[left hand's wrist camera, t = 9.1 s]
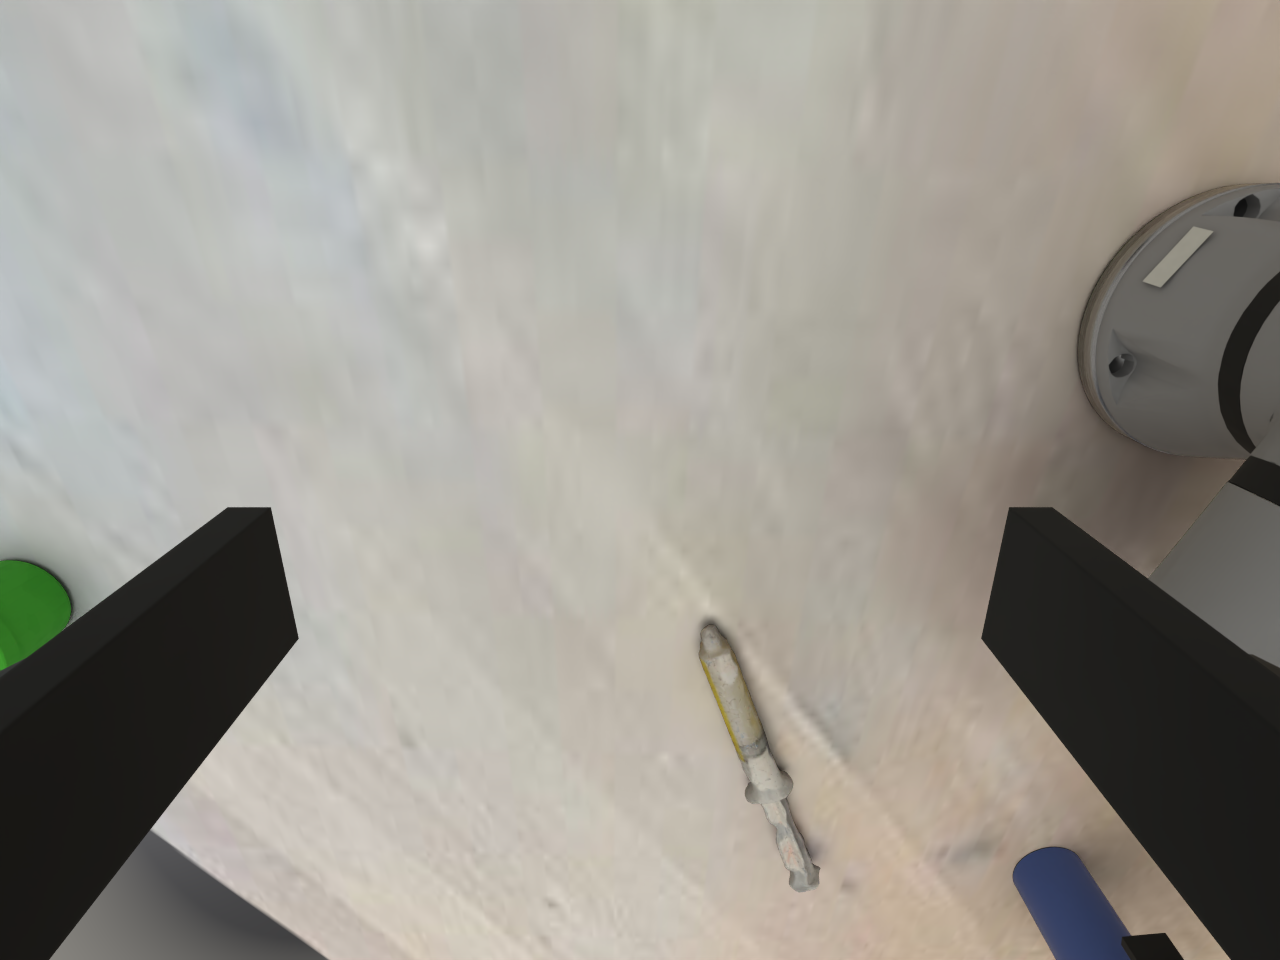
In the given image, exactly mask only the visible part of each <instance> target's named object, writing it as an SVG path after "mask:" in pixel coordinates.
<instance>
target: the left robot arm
mask: <svg viewBox="0 0 1280 960" xmlns="http://www.w3.org/2000/svg"><path fill="white" fill-rule="evenodd" d="M1078 365H1079V373H1080V377H1081V381H1082V385H1083V388H1084V391H1085V393H1086V396H1087V397H1088V399H1089V401H1090V403H1091V405H1092V406H1093V408H1094V409H1095V411H1096V412H1097V414H1098V415H1099V416H1100V417H1101V418H1102V419H1103V420H1104V421H1105V422H1106V423H1107V424H1108V425H1109V426H1110V427H1112V428H1113V429H1114V430H1116V431H1117V432H1119V433H1120V434H1122V435H1124V436H1126V437H1128V438H1130V439H1132V440H1134V441H1136V442H1138V443H1140V444H1142V445H1144V446H1146V447H1149V448H1151V449H1154V450H1157V451H1160V452H1164V453H1168V454H1173V455H1180V456H1188V457H1205V458H1225V459H1246V461H1245V462H1244V464H1243V465H1242V466H1241V467H1240V468H1239V470H1238V471H1237V472H1236V473H1235V475H1234V476H1233V477H1232V478H1231V479H1230V480H1229V481H1228V482H1227V483H1226V484H1225V485H1224V487H1223V488H1222V489H1221V490H1220V491H1219V493H1218V494H1217V495H1216V496H1215V498H1214V499H1213V500H1212V501H1211V503H1210V504H1209V505H1208V506H1207V507H1206V509H1205V510H1204V511H1203V512H1202V514H1201V515H1200V516H1199V517H1198V519H1197V520H1196V521H1195V522H1194V523H1193V525H1192V526H1191V527H1190V528H1189V530H1188V531H1187V532H1186V533H1185V534H1184V536H1183V537H1182V538H1181V539H1180V541H1179V542H1178V543H1177V544H1176V546H1175V547H1174V548H1173V549H1172V550H1171V552H1170V553H1169V554H1168V555H1167V557H1166V558H1165V559H1164V560H1163V561H1162V562H1161V564H1160V565H1159V566H1158V567H1157V568H1156V569H1155V571H1154V572H1153V573H1152V574H1151V575H1150V577H1149V578H1148V579H1147V578H1146V577H1145V576H1143V575H1142V574H1141V573H1139V572H1138V571H1137V570H1135V569H1134V568H1133V567H1131V566H1130V565H1129V564H1127V563H1126V562H1125V561H1123V560H1122V559H1121V558H1119V557H1118V556H1117V555H1115V554H1114V553H1113V552H1111V551H1110V550H1109V549H1107V548H1106V547H1105V546H1103V545H1102V544H1101V543H1099V542H1098V541H1097V540H1095V539H1094V538H1093V537H1091V536H1090V535H1089V534H1087V533H1086V532H1085V531H1083V530H1082V529H1081V528H1079V527H1078V526H1076V525H1075V524H1074V523H1072V522H1071V521H1070V520H1068V519H1067V518H1066V517H1064V516H1063V515H1062V514H1060V513H1059V512H1058V511H1056V510H1055V509H1054V508H1052V507H1009V511H1008V516H1007V520H1006V525H1005V530H1004V534H1003V539H1002V544H1001V548H1000V553H999V558H998V563H997V567H996V572H995V577H994V581H993V586H992V591H991V596H990V600H989V605H988V610H987V614H986V619H985V624H984V628H983V633H982V638H981V639H982V640H983V641H984V643H985V644H986V645H987V646H988V648H989V649H990V650H991V652H992V653H993V654H994V655H995V657H996V658H997V659H998V661H999V662H1000V663H1001V665H1002V666H1003V667H1004V668H1005V670H1006V671H1007V672H1008V674H1009V675H1010V676H1011V677H1012V679H1013V680H1014V681H1015V683H1016V684H1017V685H1018V686H1019V688H1020V689H1021V690H1022V692H1023V693H1024V694H1025V695H1026V697H1027V698H1028V699H1029V701H1030V702H1031V703H1032V704H1033V706H1034V707H1035V708H1036V710H1037V711H1038V712H1039V713H1040V715H1041V716H1042V717H1043V719H1044V720H1045V721H1046V722H1047V724H1048V725H1049V726H1050V728H1051V729H1052V730H1053V731H1054V733H1055V734H1056V735H1057V737H1058V738H1059V739H1060V740H1061V742H1062V743H1063V744H1064V746H1065V747H1066V748H1067V749H1068V751H1069V752H1070V753H1071V755H1072V756H1073V757H1074V758H1075V760H1076V761H1077V762H1078V764H1079V765H1080V766H1081V767H1082V769H1083V770H1084V771H1085V773H1086V774H1087V775H1088V776H1089V778H1090V779H1091V780H1092V782H1093V783H1094V784H1095V785H1096V787H1097V788H1098V789H1099V791H1100V792H1101V793H1102V794H1103V796H1104V797H1105V798H1106V800H1107V801H1108V802H1109V803H1110V805H1111V806H1112V807H1113V809H1114V810H1115V811H1116V812H1117V814H1118V815H1119V816H1120V818H1121V819H1122V820H1123V821H1124V823H1125V824H1126V825H1127V827H1128V828H1129V829H1130V830H1131V832H1132V833H1133V834H1134V836H1135V837H1136V838H1137V839H1138V841H1139V842H1140V843H1141V845H1142V846H1143V847H1144V848H1145V850H1146V851H1147V852H1148V854H1149V855H1150V856H1151V857H1152V859H1153V860H1154V861H1155V863H1156V864H1157V865H1158V866H1159V868H1160V869H1161V870H1162V872H1163V873H1164V874H1165V875H1166V877H1167V878H1168V879H1169V881H1170V882H1171V883H1172V885H1173V886H1174V887H1175V888H1176V890H1177V891H1178V892H1179V894H1180V895H1181V896H1182V897H1183V899H1184V900H1185V901H1186V903H1187V904H1188V905H1189V906H1190V908H1191V909H1192V910H1193V912H1194V913H1195V914H1196V915H1197V917H1198V918H1199V919H1200V921H1201V922H1202V923H1203V924H1204V926H1205V927H1206V928H1207V930H1208V931H1209V932H1210V933H1211V935H1212V936H1213V937H1214V939H1215V940H1216V941H1217V942H1218V944H1219V945H1220V946H1221V948H1222V949H1223V950H1224V951H1225V953H1226V954H1227V955H1228V957H1229V958H1230V959H1231V960H1280V183H1259V184H1239V185H1232V186H1225V187H1221V188H1217V189H1213V190H1210V191H1207V192H1204V193H1201V194H1198V195H1196V196H1194V197H1191V198H1189V199H1187V200H1184V201H1182V202H1181V203H1179V204H1177V205H1175V206H1173V207H1171V208H1170V209H1168V210H1167V211H1165V212H1163V213H1162V214H1160V215H1159V216H1157V217H1156V218H1155V219H1153V220H1152V221H1151V222H1149V223H1148V224H1147V225H1146V226H1144V227H1143V228H1142V229H1141V230H1140V231H1139V232H1138V233H1136V234H1135V235H1134V236H1133V237H1132V238H1131V239H1130V240H1129V241H1128V242H1127V243H1126V244H1125V245H1124V247H1123V248H1122V249H1121V250H1120V251H1119V252H1118V254H1117V255H1116V256H1115V257H1114V258H1113V260H1112V261H1111V263H1110V264H1109V265H1108V267H1107V268H1106V270H1105V271H1104V273H1103V274H1102V276H1101V278H1100V279H1099V281H1098V283H1097V285H1096V287H1095V289H1094V291H1093V293H1092V295H1091V297H1090V299H1089V302H1088V304H1087V307H1086V310H1085V313H1084V316H1083V320H1082V323H1081V329H1080V334H1079V342H1078ZM1242 488H1243V489H1242ZM1244 489H1245V490H1244ZM1246 490H1247V491H1246ZM1248 491H1249V492H1248ZM1250 492H1251V493H1250ZM1252 493H1254V494H1252ZM1255 494H1256V495H1255ZM1257 495H1258V496H1257ZM1259 496H1260V497H1259ZM1261 497H1262V498H1261ZM1263 498H1264V499H1263ZM1265 499H1266V500H1265ZM1267 500H1268V501H1267ZM1269 501H1270V502H1269ZM1271 502H1272V503H1271ZM1273 503H1274V504H1273ZM1275 504H1276V505H1275ZM298 639H299V638H298V633H297V628H296V624H295V619H294V614H293V610H292V605H291V600H290V596H289V591H288V586H287V581H286V577H285V572H284V567H283V563H282V558H281V553H280V548H279V544H278V539H277V534H276V530H275V525H274V520H273V516H272V511H271V507H228V508H226V509H225V510H224V511H222V512H221V513H220V514H218V515H217V516H216V517H214V518H213V519H212V520H210V521H209V522H208V523H206V524H205V525H204V526H202V527H201V528H199V529H198V530H197V531H195V532H194V533H193V534H191V535H190V536H189V537H187V538H186V539H185V540H183V541H182V542H181V543H179V544H178V545H177V546H175V547H174V548H173V549H171V550H170V551H169V552H167V553H166V554H165V555H163V556H162V557H161V558H159V559H158V560H157V561H155V562H154V563H153V564H151V565H150V566H149V567H147V568H146V569H145V570H143V571H142V572H141V573H139V574H138V575H137V576H135V577H134V578H133V579H131V580H130V581H129V582H127V583H126V584H125V585H123V586H122V587H121V588H119V589H118V590H117V591H115V592H114V593H112V594H111V595H110V596H108V597H107V598H106V599H104V600H103V601H102V602H100V603H99V604H98V605H96V606H95V607H94V608H92V609H91V610H90V611H88V612H87V613H86V614H84V615H83V616H82V617H80V618H79V619H78V620H76V621H75V622H74V623H72V624H71V625H70V626H68V627H67V628H66V629H64V630H63V631H62V632H60V633H59V634H58V635H56V636H55V637H54V638H52V639H51V640H50V641H48V642H47V643H46V644H44V645H43V646H42V647H40V648H39V649H38V650H36V651H35V652H34V653H32V654H31V655H29V656H28V657H27V658H25V659H23V660H21V661H19V662H17V663H15V664H13V665H11V666H9V667H7V668H5V669H3V670H1V671H0V960H49V959H50V958H51V957H52V955H53V954H54V953H55V951H56V950H57V949H58V948H59V946H60V945H61V944H62V942H63V941H64V940H65V939H66V937H67V936H68V935H69V933H70V932H71V931H72V930H73V928H74V927H75V926H76V924H77V923H78V922H79V921H80V919H81V918H82V917H83V915H84V914H85V913H86V912H87V910H88V909H89V908H90V906H91V905H92V904H93V903H94V901H95V900H96V899H97V897H98V896H99V895H100V894H101V892H102V891H103V890H104V888H105V887H106V886H107V884H108V883H109V882H110V881H111V879H112V878H113V877H114V875H115V874H116V873H117V872H118V870H119V869H120V868H121V866H122V865H123V864H124V863H125V861H126V860H127V859H128V857H129V856H130V855H131V854H132V852H133V851H134V850H135V848H136V847H137V846H138V845H139V843H140V842H141V841H142V839H143V838H144V837H145V836H146V834H147V833H148V832H149V830H150V829H151V828H152V827H153V825H154V824H155V823H156V821H157V820H158V819H159V818H160V816H161V815H162V814H163V812H164V811H165V810H166V809H167V807H168V806H169V805H170V803H171V802H172V801H173V800H174V798H175V797H176V796H177V794H178V793H179V792H180V791H181V789H182V788H183V787H184V785H185V784H186V783H187V782H188V780H189V779H190V778H191V776H192V775H193V774H194V773H195V771H196V770H197V769H198V767H199V766H200V765H201V764H202V762H203V761H204V760H205V758H206V757H207V756H208V755H209V753H210V752H211V751H212V749H213V748H214V747H215V746H216V744H217V743H218V742H219V740H220V739H221V738H222V737H223V735H224V734H225V733H226V731H227V730H228V729H229V728H230V726H231V725H232V724H233V722H234V721H235V720H236V719H237V717H238V716H239V715H240V713H241V712H242V711H243V710H244V708H245V707H246V706H247V704H248V703H249V702H250V701H251V699H252V698H253V697H254V695H255V694H256V693H257V692H258V690H259V689H260V688H261V686H262V685H263V684H264V683H265V681H266V680H267V679H268V677H269V676H270V675H271V674H272V672H273V671H274V670H275V668H276V667H277V666H278V665H279V663H280V662H281V661H282V659H283V658H284V657H285V655H286V654H287V653H288V652H289V650H290V649H291V648H292V646H293V645H294V644H295V643H296V641H297V640H298Z"/></svg>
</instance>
